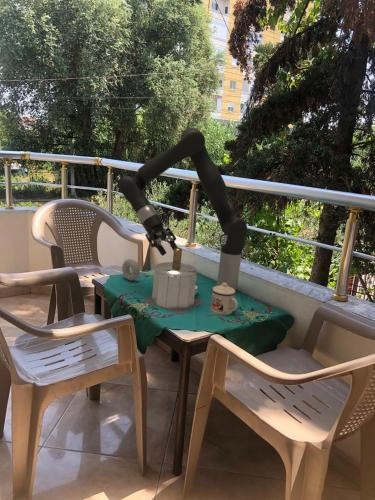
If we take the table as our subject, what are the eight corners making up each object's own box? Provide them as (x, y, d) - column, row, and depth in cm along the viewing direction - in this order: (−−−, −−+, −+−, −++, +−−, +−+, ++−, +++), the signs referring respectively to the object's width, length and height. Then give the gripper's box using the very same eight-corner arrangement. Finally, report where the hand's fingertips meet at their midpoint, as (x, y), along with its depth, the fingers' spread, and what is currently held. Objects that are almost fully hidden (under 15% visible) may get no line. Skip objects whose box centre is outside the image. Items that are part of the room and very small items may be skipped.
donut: (119, 277, 187) (121, 256, 184) (125, 276, 189) (127, 255, 187) (134, 284, 181) (135, 262, 178) (140, 282, 183) (141, 261, 181)
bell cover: (167, 290, 175) (172, 241, 169) (201, 301, 167) (207, 249, 161) (143, 301, 161) (147, 247, 156) (178, 313, 153) (184, 257, 147)
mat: (166, 291, 176) (166, 289, 176) (204, 303, 167) (204, 301, 167) (140, 302, 161) (140, 300, 161) (180, 316, 152) (180, 314, 152)
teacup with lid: (204, 309, 160) (208, 281, 157) (220, 305, 166) (224, 278, 163) (227, 320, 152) (230, 291, 149) (243, 316, 158) (247, 287, 155)
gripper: (144, 215, 156) (166, 250, 153) (166, 212, 167) (186, 244, 165) (132, 226, 160) (154, 261, 157) (154, 222, 171) (174, 254, 169)
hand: (170, 252), depth 161 cm, fingers open, 8 cm apart
